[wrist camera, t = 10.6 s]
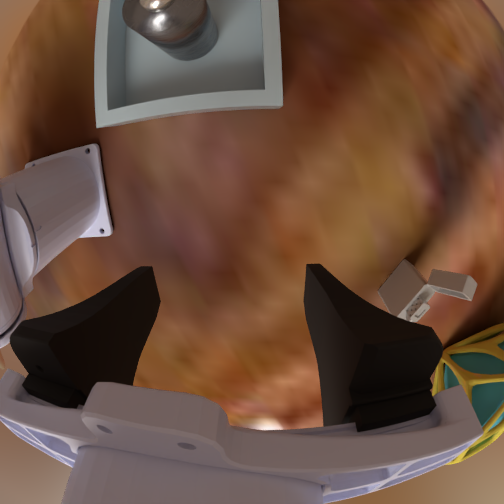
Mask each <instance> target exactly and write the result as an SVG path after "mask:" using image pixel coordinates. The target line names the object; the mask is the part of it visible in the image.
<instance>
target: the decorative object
mask: <svg viewBox="0 0 504 504" xmlns="http://www.w3.org/2000/svg"><path fill="white" fill-rule="evenodd" d="M502 331H504V323H501V324H498V325H495V326H492V327H490V328H488V329H486V330H484V331H481V332H479V333H477V334H475V335H473V336H470V337H468V338H466V339H464V340H462V341H460V342H458V343H455V344H453V345H451V346H449V347H447V348H446V349H445V350H444V351H443V355H442V357H441V359H440V362H439V364H438V365H437V367H436V372H435V378H434V384H433V390H432V396H434V395H435V394H437V393H438V392H440V391H443V390H446V389H449V388H452V387H454V386H457V385H462V387H463V389H464V391H465V393H466V395H467V397H468V399H469V401H470V403H471V405H472V407H473V409H474V411H475V413H476V415H477V418H478V420H479V422H480V424H481V427H482V429H483V431H484V433H483V435H482V436H481V437H480V438H479V439H477V440H476V441H475V442H474V443H473V444H472V445H471V446H469V447H468V448H467V449H466V450H465V451H463V452H462V453H461V454H460V455H458V456H457V457H456V458H455V459H453V460H452V461H451V462H449V463H447V464H455V463H459V462H461V461H463V460H465V459H467V458H469V457H470V456H472V455H474V454H476V453H477V452H479V451H480V450H482V449H484V448H485V447H486V446H488V445H489V444H491V443H492V442H494V441H495V440H496V439H497V438H498V437H499V436H500V435H501V434H502V433H503V432H504V333H503V334H501V335H498V336H496V337H493V336H495V335H497V334H499V333H500V332H502ZM491 337H493V338H491ZM489 338H491V339H489ZM487 339H488V340H487ZM455 353H456V354H455ZM451 354H454V355H451ZM444 363H446V365H445V374H444Z"/></svg>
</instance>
